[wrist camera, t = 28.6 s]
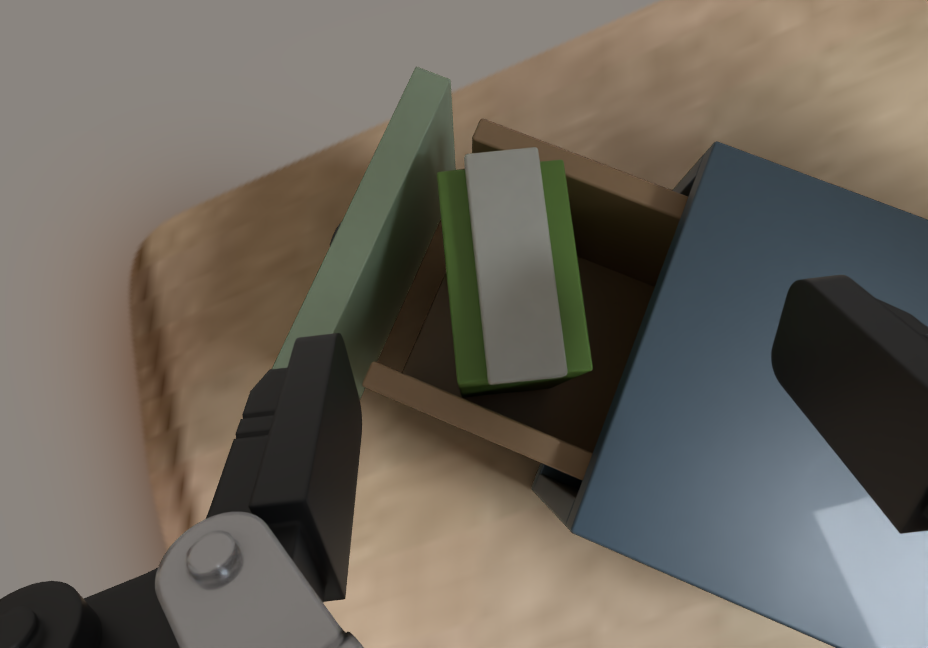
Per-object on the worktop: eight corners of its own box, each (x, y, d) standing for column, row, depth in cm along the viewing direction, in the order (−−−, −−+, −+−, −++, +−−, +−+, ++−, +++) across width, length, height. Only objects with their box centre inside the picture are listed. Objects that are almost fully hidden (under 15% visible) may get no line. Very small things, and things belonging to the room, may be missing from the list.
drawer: (307, 378, 24) (231, 357, 16) (407, 163, 26) (380, 52, 18) (615, 510, 23) (688, 554, 15) (699, 278, 24) (804, 212, 17)
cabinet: (530, 489, 24) (569, 532, 14) (625, 243, 26) (715, 139, 16) (845, 625, 23) (1110, 767, 13) (921, 359, 25) (1202, 320, 15)
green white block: (533, 241, 24) (567, 142, 15) (551, 391, 23) (600, 371, 14) (446, 250, 24) (434, 155, 15) (461, 400, 23) (457, 386, 14)
